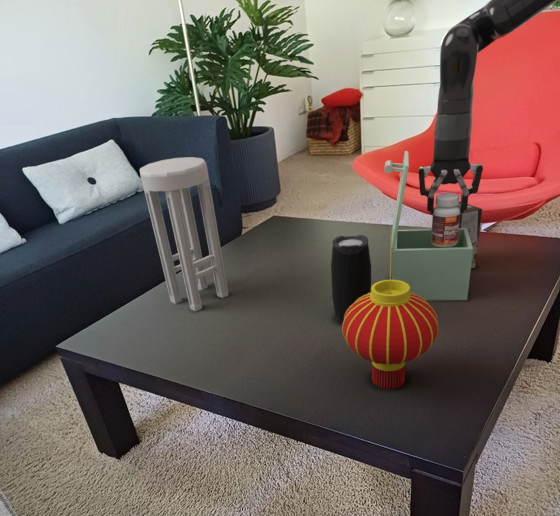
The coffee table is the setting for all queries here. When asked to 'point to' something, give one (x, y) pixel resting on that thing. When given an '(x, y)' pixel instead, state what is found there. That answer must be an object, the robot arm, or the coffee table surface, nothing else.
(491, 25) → the robot arm
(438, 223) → the pill bottle
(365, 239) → the portable speaker
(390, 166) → the lid
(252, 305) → the coffee table surface
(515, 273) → the coffee table surface
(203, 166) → the stool
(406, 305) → the lantern
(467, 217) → the coffee box
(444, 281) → the chest
